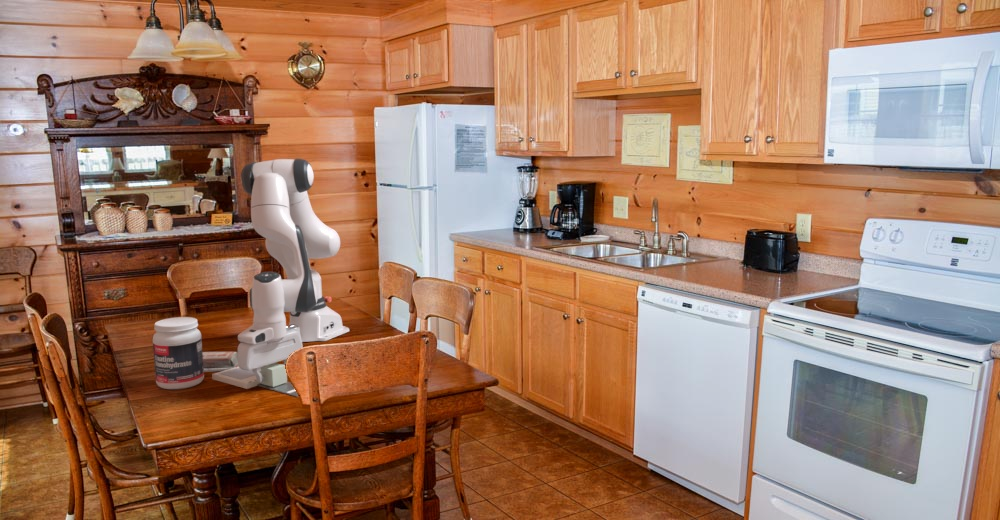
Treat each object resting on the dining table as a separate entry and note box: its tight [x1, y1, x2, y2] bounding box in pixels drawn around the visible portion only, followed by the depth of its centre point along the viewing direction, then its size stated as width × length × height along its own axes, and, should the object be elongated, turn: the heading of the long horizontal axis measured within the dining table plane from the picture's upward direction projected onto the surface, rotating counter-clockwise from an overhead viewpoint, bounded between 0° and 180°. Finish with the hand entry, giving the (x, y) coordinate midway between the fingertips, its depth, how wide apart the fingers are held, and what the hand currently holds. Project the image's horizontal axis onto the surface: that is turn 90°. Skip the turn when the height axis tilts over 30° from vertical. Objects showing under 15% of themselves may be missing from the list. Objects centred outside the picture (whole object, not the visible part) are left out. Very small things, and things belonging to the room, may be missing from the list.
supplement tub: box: [152, 316, 205, 390], centre depth 217 cm, size 13×13×18 cm
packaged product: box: [202, 351, 238, 373], centre depth 234 cm, size 18×5×10 cm
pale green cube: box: [259, 362, 288, 387], centre depth 216 cm, size 5×6×5 cm
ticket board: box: [211, 365, 299, 398], centre depth 218 cm, size 13×33×2 cm, turn 55°
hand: (272, 377), depth 217 cm, fingers open, 7 cm apart
